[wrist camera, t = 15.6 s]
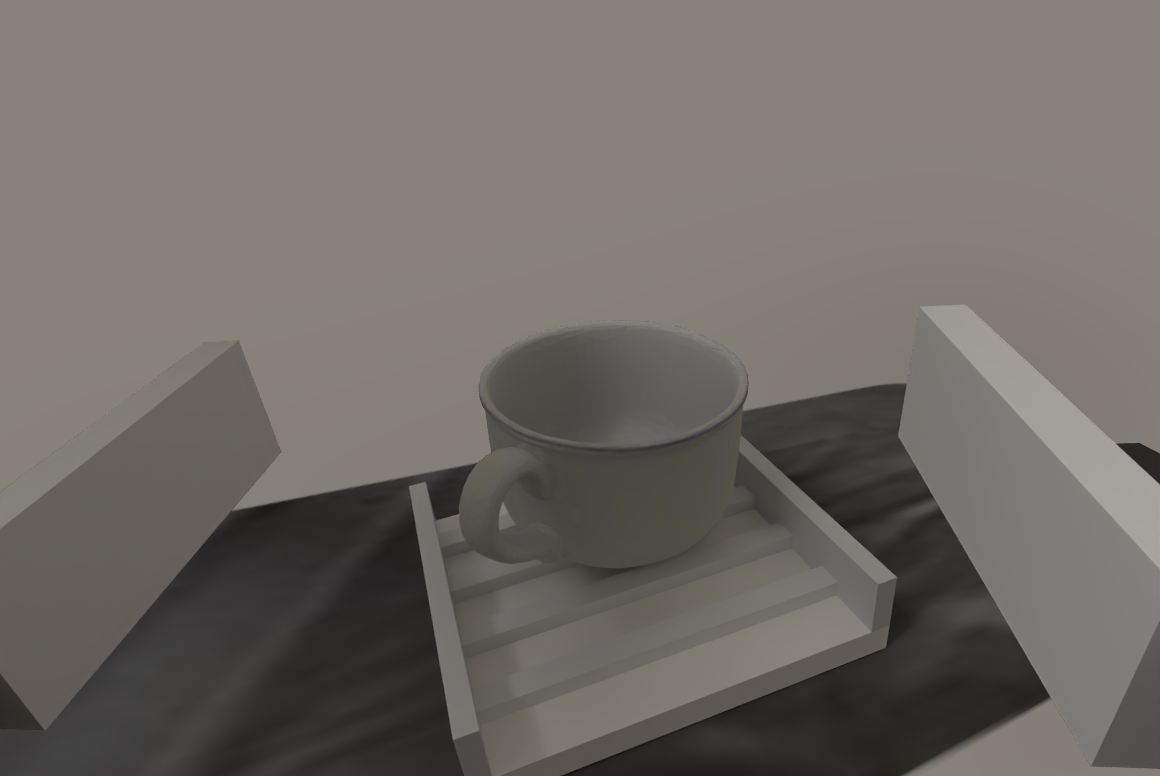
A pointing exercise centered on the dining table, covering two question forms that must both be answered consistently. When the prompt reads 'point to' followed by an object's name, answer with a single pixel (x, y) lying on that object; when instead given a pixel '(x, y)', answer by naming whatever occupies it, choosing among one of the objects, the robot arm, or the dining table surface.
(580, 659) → the drying rack
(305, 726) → the dining table surface
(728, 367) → the teacup
